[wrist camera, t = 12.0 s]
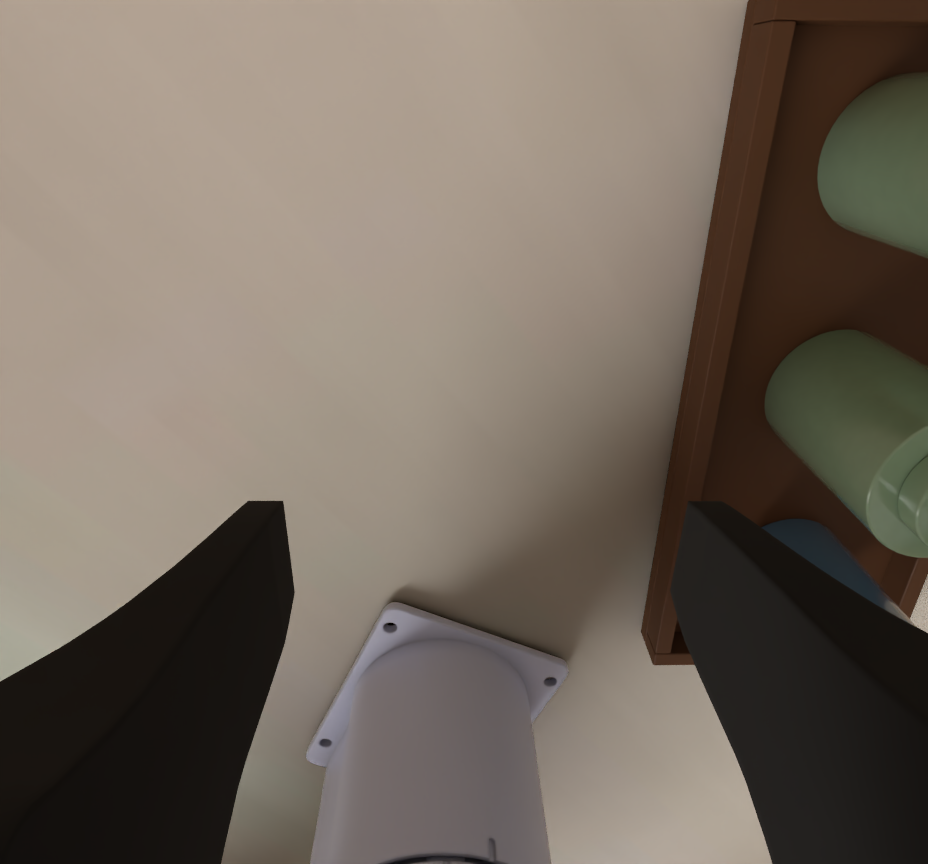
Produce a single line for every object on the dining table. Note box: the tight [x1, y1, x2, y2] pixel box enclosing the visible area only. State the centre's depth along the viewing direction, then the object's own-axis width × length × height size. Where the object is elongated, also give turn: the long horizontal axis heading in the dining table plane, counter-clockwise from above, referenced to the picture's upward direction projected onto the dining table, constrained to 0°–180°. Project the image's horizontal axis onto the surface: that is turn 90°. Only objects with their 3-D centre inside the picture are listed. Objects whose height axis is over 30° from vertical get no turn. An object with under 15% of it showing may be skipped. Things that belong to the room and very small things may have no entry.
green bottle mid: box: [765, 329, 928, 558], centre depth 18 cm, size 4×4×9 cm
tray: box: [641, 0, 928, 665], centre depth 22 cm, size 21×9×2 cm, turn 179°
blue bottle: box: [761, 518, 916, 627], centre depth 21 cm, size 4×4×9 cm
